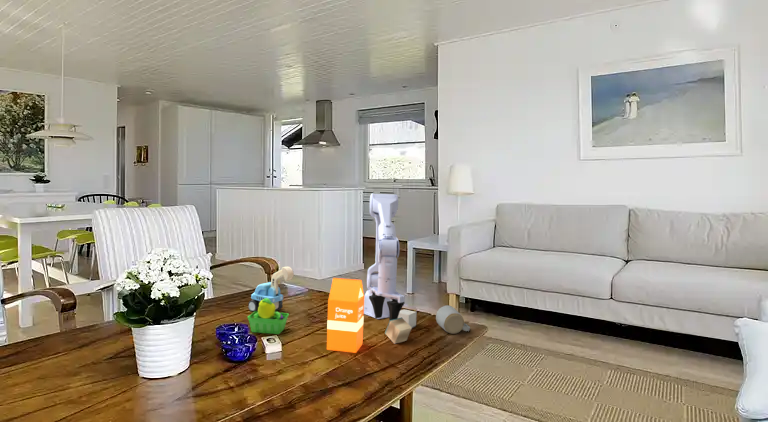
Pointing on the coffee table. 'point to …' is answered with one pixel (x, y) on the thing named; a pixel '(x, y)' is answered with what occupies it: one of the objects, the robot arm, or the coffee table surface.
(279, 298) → the toy excavator
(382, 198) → the robot arm
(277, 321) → the fruit basket
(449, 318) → the ceramic mug
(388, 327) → the maple cube
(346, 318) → the orange juice
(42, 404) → the coffee table surface
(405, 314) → the grey cube
